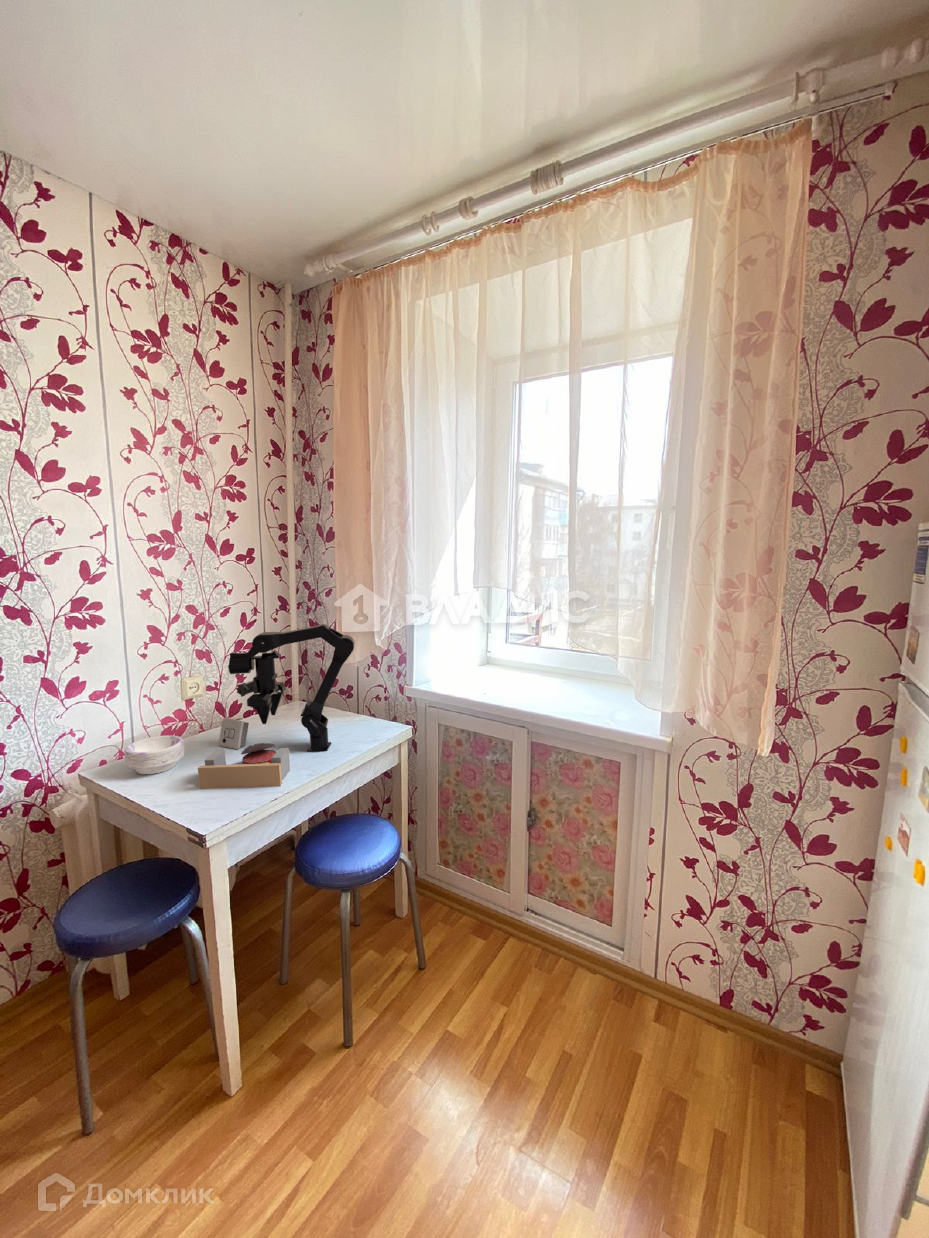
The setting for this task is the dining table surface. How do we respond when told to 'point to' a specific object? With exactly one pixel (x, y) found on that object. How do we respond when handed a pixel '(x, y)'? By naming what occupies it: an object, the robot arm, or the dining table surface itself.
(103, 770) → the dining table surface
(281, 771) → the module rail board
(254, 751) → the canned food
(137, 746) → the paper bowls
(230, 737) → the electrical switch
